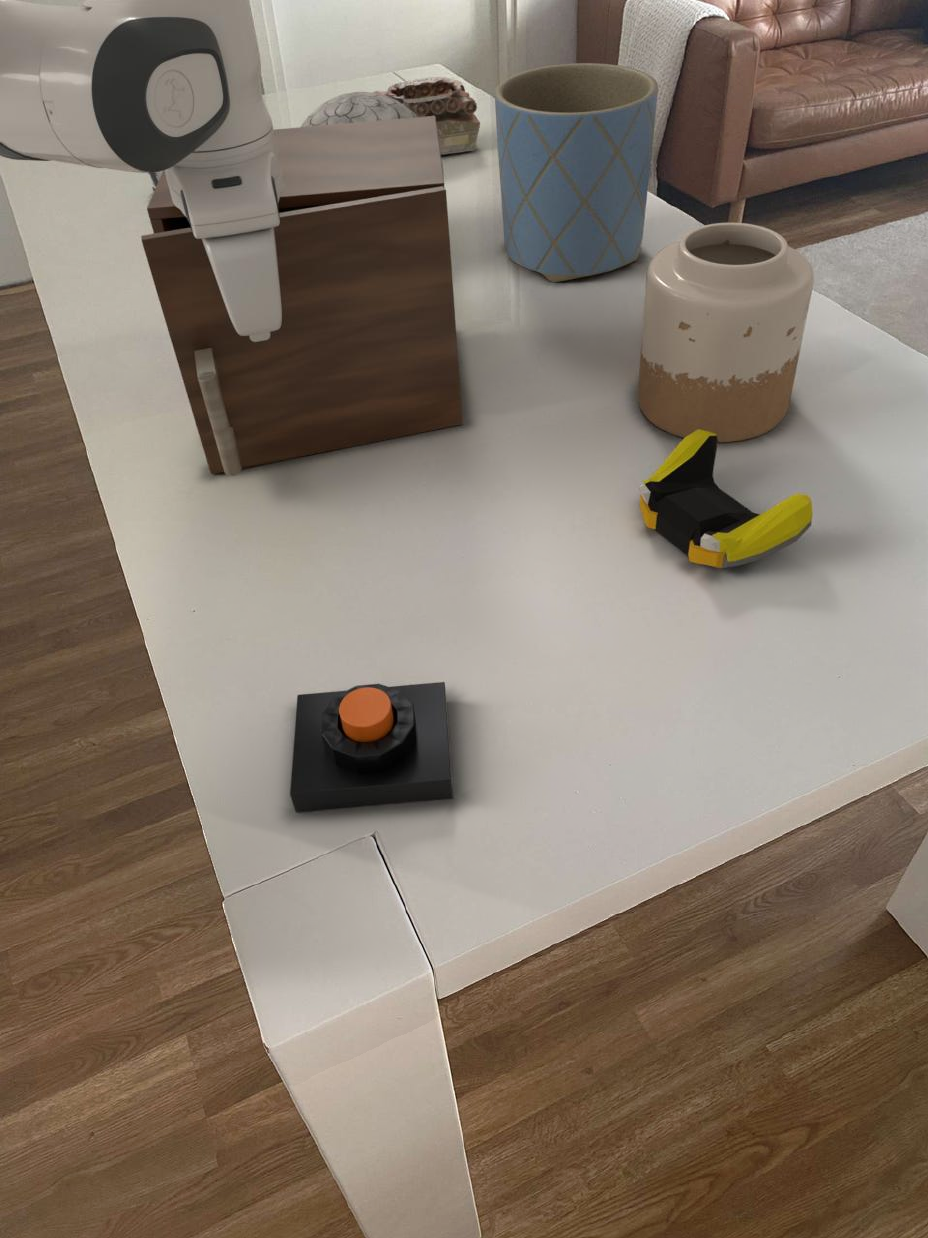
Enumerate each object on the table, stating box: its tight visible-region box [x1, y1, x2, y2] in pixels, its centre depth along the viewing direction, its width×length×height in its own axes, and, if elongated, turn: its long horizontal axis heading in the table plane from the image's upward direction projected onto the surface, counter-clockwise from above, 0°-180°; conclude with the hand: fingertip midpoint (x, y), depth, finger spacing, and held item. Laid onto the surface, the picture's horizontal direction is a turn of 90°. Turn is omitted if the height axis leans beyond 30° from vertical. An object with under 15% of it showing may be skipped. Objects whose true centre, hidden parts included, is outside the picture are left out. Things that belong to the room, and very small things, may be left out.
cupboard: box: [146, 116, 446, 234], centre depth 99 cm, size 18×26×24 cm
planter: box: [494, 62, 659, 283], centre depth 121 cm, size 19×19×20 cm
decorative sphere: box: [300, 91, 445, 179], centre depth 124 cm, size 20×20×20 cm
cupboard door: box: [140, 186, 464, 476], centre depth 89 cm, size 7×26×24 cm, turn 105°
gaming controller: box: [638, 429, 813, 570], centre depth 85 cm, size 15×6×10 cm
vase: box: [637, 222, 815, 443], centre depth 95 cm, size 15×15×17 cm
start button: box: [339, 687, 394, 743], centre depth 68 cm, size 4×4×2 cm
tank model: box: [372, 76, 481, 156], centre depth 153 cm, size 13×20×10 cm, turn 98°
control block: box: [289, 681, 454, 813], centre depth 69 cm, size 11×9×4 cm
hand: (259, 334), depth 86 cm, fingers closed
